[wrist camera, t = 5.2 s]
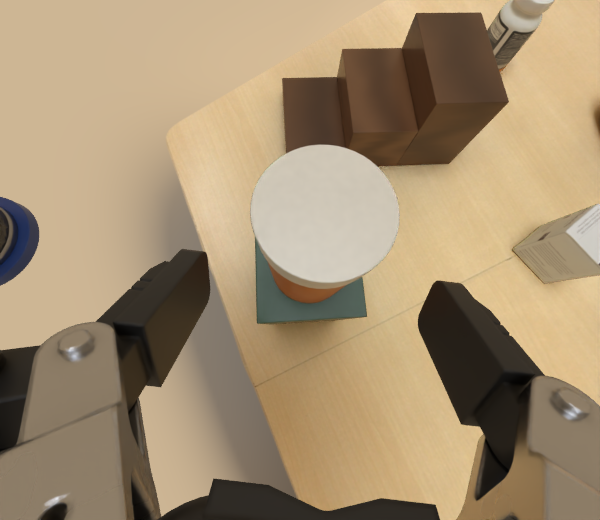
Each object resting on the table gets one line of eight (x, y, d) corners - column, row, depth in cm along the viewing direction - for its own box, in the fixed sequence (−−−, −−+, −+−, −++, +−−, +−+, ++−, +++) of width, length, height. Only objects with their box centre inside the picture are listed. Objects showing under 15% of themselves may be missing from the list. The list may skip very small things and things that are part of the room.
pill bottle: (505, 59, 44) (566, -16, 34) (496, 82, 43) (556, 12, 33) (474, 46, 44) (524, -31, 35) (463, 69, 43) (513, -5, 33)
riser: (287, 169, 37) (285, 107, 27) (282, 95, 41) (279, 13, 30) (449, 163, 39) (509, 101, 28) (432, 92, 42) (481, 12, 31)
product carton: (539, 225, 37) (599, 201, 29) (572, 259, 36) (643, 242, 28) (510, 249, 36) (565, 230, 28) (544, 285, 35) (610, 275, 27)
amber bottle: (271, 307, 19) (251, 287, 9) (269, 231, 20) (248, 145, 11) (350, 302, 19) (411, 278, 9) (342, 228, 21) (388, 141, 11)
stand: (271, 324, 32) (256, 323, 19) (269, 261, 34) (254, 219, 21) (335, 320, 33) (367, 316, 19) (329, 258, 34) (355, 214, 21)
